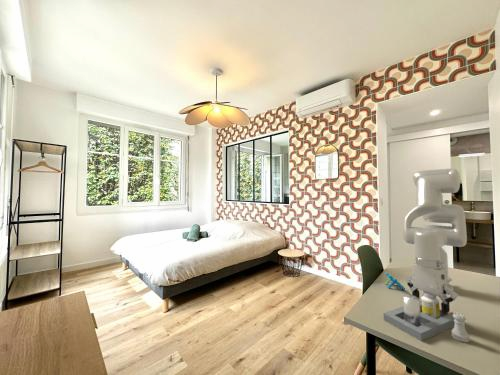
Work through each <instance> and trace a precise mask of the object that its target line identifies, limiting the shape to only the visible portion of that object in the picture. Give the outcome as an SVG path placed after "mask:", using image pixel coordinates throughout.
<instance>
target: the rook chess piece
mask: <svg viewBox="0 0 500 375" xmlns="http://www.w3.org/2000/svg"><path fill="white" fill-rule="evenodd" d="M453 313H454V314H453V317H454V318H455V319H454V321H455V325H454V326H453V327H452V329H451V336H452V338H454V339H455V340H457V341H458V342H461V343H469V342H470V341H471V339H470V335H469V334H468V332H467V330H466V322H465V321H466V320H467V318H466V317H465V315H464V314H463V313H459V312H454V311H453Z"/></svg>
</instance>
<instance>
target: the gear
mask: <svg viewBox="0 0 500 375" xmlns="http://www.w3.org/2000/svg"><path fill="white" fill-rule="evenodd" d="M384 274H385V275H386V277H387V281H386V282H385V285H387V287H386V288H388V289H390V288H391V287H392V286H393V285H396V286H398V287H399V288H401V289H402V290H403V291H404V290H406V288H405V286H404V285H402V284H401V283H400V282H399V281H398V280H397V279H396V278H395V277H392V275H391V274H389V273H388V272H385V273H384Z"/></svg>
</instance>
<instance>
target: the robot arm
mask: <svg viewBox="0 0 500 375" xmlns="http://www.w3.org/2000/svg"><path fill="white" fill-rule="evenodd" d="M412 180H413V183H414V186H415V187H416V200H415V201H416V204H415V206H414V207H413V208H411V209H410V211H408V212H407V213H406V215H405V217H404V220H403V224H402V225H403V227H402V229H403V230H402V236H403V240H404V241H405V242H406V243H407V244H411V245H414V257H415V258H414V259H415V263H414V264H413V268H412V275H411V276H406V277H404V280H405V282H406V284H407V286H408V287H409V289H410V291H411V293H412V294H411V295H413V296H416V297H418V298H419V299H421V296H420V291H422V292H423V291H425V292H428V293H430V294H433V295H436V297H439V300H441V303H440V307H441V312H442V313H443V314H446V313H448V312H449V311H451V309H450V303H452V302H455V300H456V299H457V298H458V296H459V295H458V293H457V292H455V291H454V290H455V289H454V287H453V286H452V285H450V282H452V281H453V279H452V278H451V277H449V264H448V261H449V260H448V254H447V251H446V250H445V249H444V248H443V247H444V246H449V247H458V248H460V247H465V246H466V245H467V243H468V242H467V241H468V236H467V234H468V233H467V224H466V213H465V210H464V207H462V206H461V205H460V204H452V203H447V204H446V203H444V195H443V194H454V193H458V192H459V190H460V187H461V186H460V185H461V180H460V173H459V171H458V170H457V169H456V168H441V169H427V170H420V171H417V172H414V174H412ZM420 217H422V219H423V220H424V222H427V223H435V224H436V225H435V224H425V225H422V226H420V227H419V226H412V224H413V222H414V221H415V220H416V219H418V218H420ZM437 223H438V224H437ZM439 224H450V225H451V226H450V225H439ZM448 294H449V296H448Z"/></svg>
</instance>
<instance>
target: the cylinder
mask: <svg viewBox="0 0 500 375" xmlns="http://www.w3.org/2000/svg"><path fill="white" fill-rule="evenodd" d="M420 299H421V298H420ZM420 299H419V298H418V297H416V296H413V295H412V294H403V295H402V301H403V302H402V304H403V305H402V307H404V318H403V320H405V321H407V322H408V323H410V324H412V325H414V326H416V327H419V326H421V325H422V323H421V314H420Z"/></svg>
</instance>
